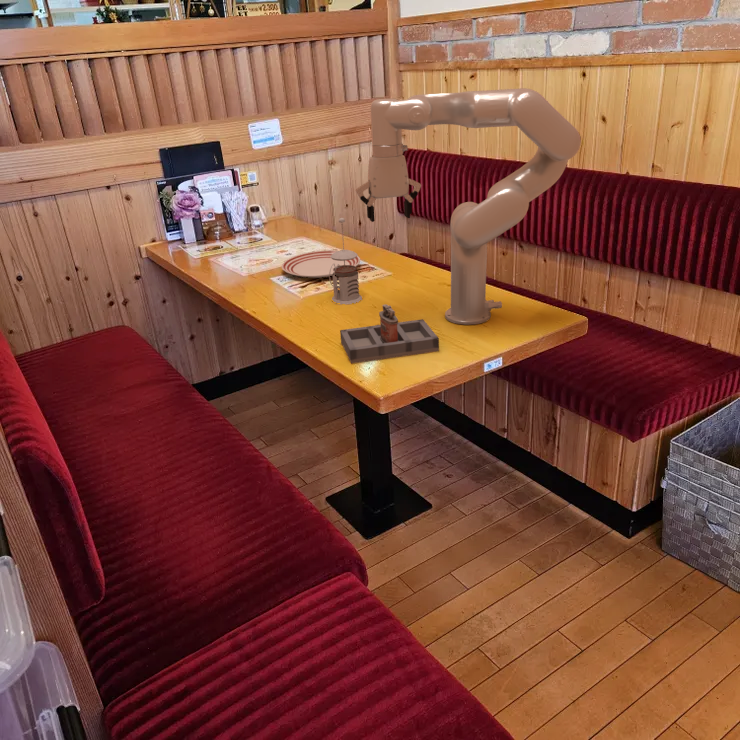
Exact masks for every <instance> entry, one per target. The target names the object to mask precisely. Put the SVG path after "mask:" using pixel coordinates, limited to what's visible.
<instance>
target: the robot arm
mask: <svg viewBox="0 0 740 740" xmlns="http://www.w3.org/2000/svg"><path fill="white" fill-rule="evenodd" d="M432 125H433V126H435V125H436V126H437V125H439V126H440V125H454V126H461V127H465V128H468V129H470V128H471V129H484V128H485V129H486V128H499V127H501V128H502V127H517V128H519V130H520V131H522V133H523V134H524V135H526V137H527V138H528V139H529V140H531V142H533V144H534V145H536V146H537V150H536V152H535V154H534V155H533V157H531V159H530V160H528V161H527V162H526V163H525V164H524V165H522V166H520V167H519V168H518V169H517V170H515V171H514V172H512V173H510V174H509V175H507V176H506V177H504V178H502V179H501V180H499V181H498V182H495V184H493V185H492V186H491V187H490V188H489V190H488V192H487V195H486V196H487V197H486V199H485V200H482V201H481V202H480V203H477V202H473V201H467V202H463V203H460V204H459V205H457V206H456V208H455V209H454V210H453V211H452V213H451V217H450V225H449V226H450V308H447V310H446V311H445V313H444V317H445V319H446V320H447V321H449V322H451V323H452V324H457V325H465V326H467V325H469V326H473V325H478V324H482V323H485V322H487V321H489V320H490V318H491V311H492V310H494V309H495V310H496V309H502V308H503V303H502V301H501V300H500V301H495V300H494V299H491V300H487V299H486V294H487V293H486V292H487V291H486V290H487V289H486V285H487V261H488V260H487V259H488V243H489V242H491V241H493V240H494V239H496V238H497V237H499V236H501V235H502V234H504V233H505V232H507V231H508V230H510V229H512V228H513V227H514V226H516V225H517V224H518V223H520V222H521V221H522V220H523V219H524V218H525V216H526V215H527V212H528V210H529V207H530V202H532V201H533V200H535V199H536V198H538V197H539V196H540V195H542V194H543V193H544V192H546V191H547V190H549V189H550V188H552V186H554V185H555V184H556V183H557V181H558V180H559V179H560V178H561V176H562V175H563V173H564V171H565V170H566V167H567V165H568V162H569V160H571V159H573V158H574V157H575V156H576V155H577V154H578V153H579V150H580V147H581V144H582V143H581V142H582V140H581V135H580V133H579V130H578V129H577V128H576V127H575V126H574V125H573V124H572V123H571V122H569V120H568V119H567V118H565V117H564V116H563V115H562V113H560V112H559V111H558V110H557V109H556V108H555V107H554V106H553V105H552V104H551V103H550V102H549V100H547V99H546V98H545V97H544V96H543V95H542V94H541V93H540V92H538V91H537V90H534V89H531V88H528V87H527V88H526V87H525V88H506V89H505V88H504V89H487V90H467V91H461V92H460V91H459V92H447V93H445V92H444V93H443V92H442V93H426V94H424V93H423V94H414V95H412V96H410V97H409V98H407V99H401V100H399V99H396V98H379V99H375V100H373V101H371V104H370V127H371V147H372V148H371V149H372V151H371V152H372V156H371V157H369V159H368V166H367V167H368V169H367V170H368V171H367V181H366V182H365V183H363V184H361V186H358V187H357V188H355V193H356V195H357V197H358V198H359V200H361V202H362V203H364V204H365V205H366V216H367V218H368V219H369V221H370V222H371V223H373V222H375V221H376V220H375V207H374V205H373V204H374V203H375V202H376V201H377V199H389V198H399V197H403V198H404V199H405V200H404V201H403V208H404V209H403V211H404V212H403V213H404V214H403V215H404V216H405V217H406V218H407V219H410V218H411V215H412V213H413V211H412V210H413V209H412V207H413V205H412V204H413V202H414V200H415V199H416V197H417V196H418V194H419V192H420V190H421V187H422V184H421V183H420V182H418V181H416V180H414V179H411V178H409V173H408V168H407V167H408V165H407V160H406V157H405V155H403V154H404V152H405V151H408V150H409V149H408V145H407V144H406V145H405V144H404V143H403V136H402V135H403V134H402V133H403V131H402V130H408V131H422V130H424V129H426V127H428V126H432ZM409 185H411V186H413V190H412V191H411V192H410V193H409V190H410V186H409ZM366 190H367V192H368V197H365V195H364V192H365V191H366Z"/></svg>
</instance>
